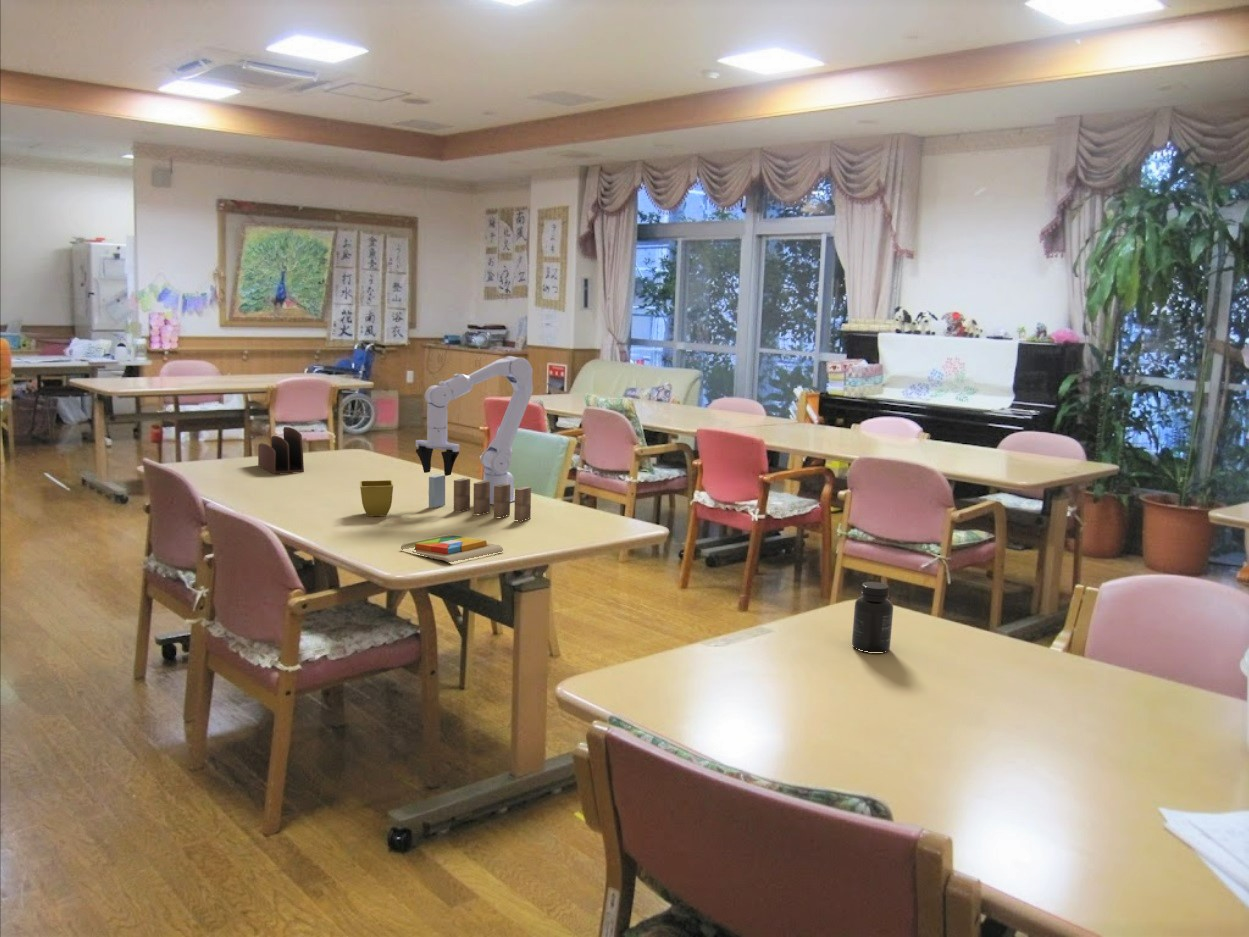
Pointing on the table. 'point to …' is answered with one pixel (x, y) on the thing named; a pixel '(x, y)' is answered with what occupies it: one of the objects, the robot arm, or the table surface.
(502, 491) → the domino
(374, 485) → the flower pot
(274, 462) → the letter holder
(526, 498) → the domino
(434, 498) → the blue domino
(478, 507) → the domino
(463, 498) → the domino
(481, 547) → the wooden puzzle
